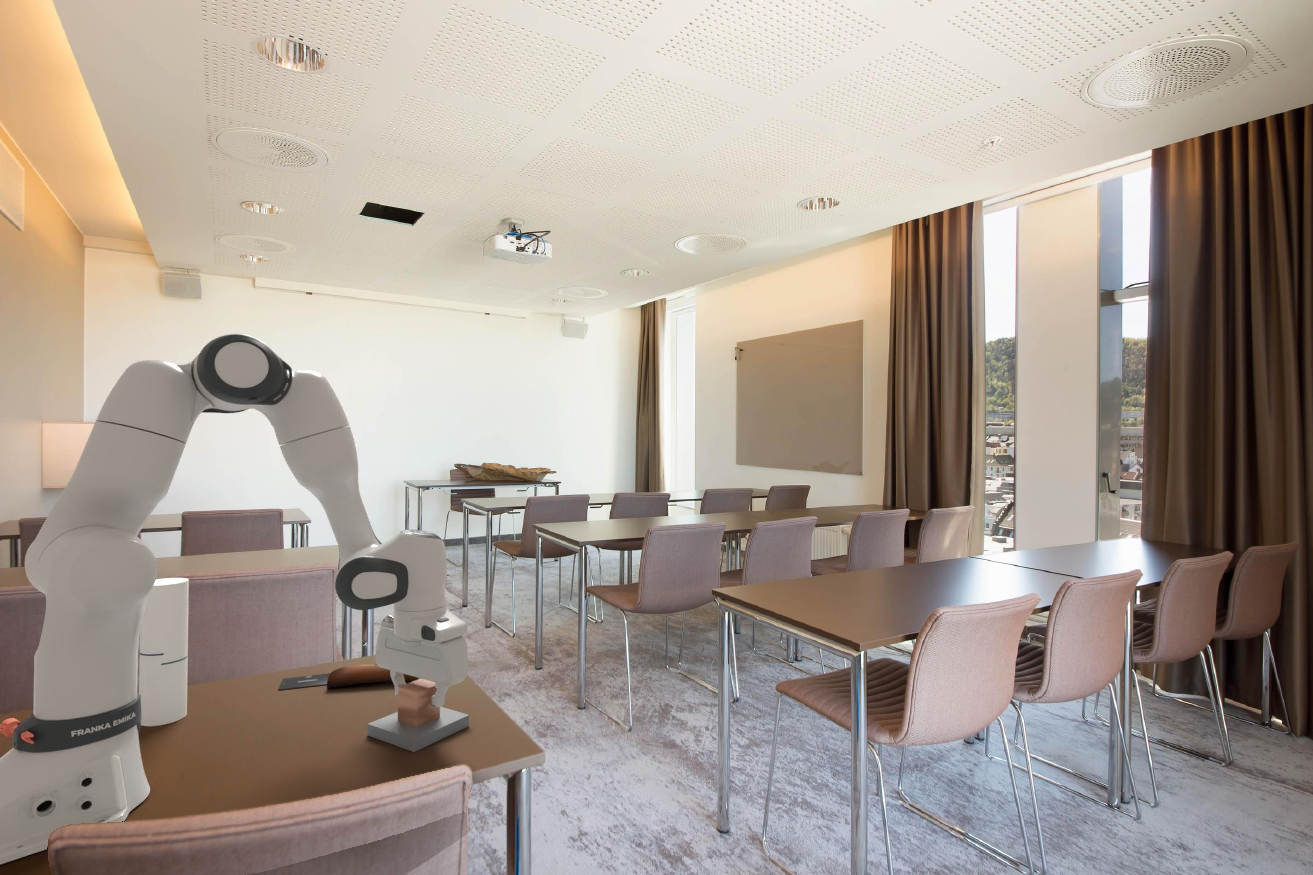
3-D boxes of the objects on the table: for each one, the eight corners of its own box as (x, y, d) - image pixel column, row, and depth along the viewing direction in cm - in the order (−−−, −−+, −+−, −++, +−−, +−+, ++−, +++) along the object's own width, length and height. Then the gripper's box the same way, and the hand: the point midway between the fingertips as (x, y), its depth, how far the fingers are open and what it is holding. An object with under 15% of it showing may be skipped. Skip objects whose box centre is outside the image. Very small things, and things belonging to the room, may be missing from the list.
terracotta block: (417, 727, 115) (417, 692, 115) (397, 721, 118) (398, 686, 118) (439, 717, 120) (440, 683, 120) (420, 711, 122) (421, 678, 122)
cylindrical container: (146, 713, 125) (148, 579, 125) (191, 708, 128) (193, 576, 128) (132, 728, 119) (134, 586, 119) (180, 722, 121) (182, 584, 121)
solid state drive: (282, 681, 144) (282, 678, 144) (334, 675, 147) (334, 672, 147) (278, 692, 137) (278, 689, 137) (332, 686, 141) (332, 683, 141)
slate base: (414, 751, 111) (414, 739, 111) (367, 735, 117) (367, 723, 117) (468, 725, 121) (469, 714, 121) (423, 711, 127) (423, 701, 127)
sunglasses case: (422, 669, 150) (421, 648, 147) (419, 695, 144) (418, 673, 141) (334, 675, 146) (331, 653, 142) (328, 702, 140) (324, 680, 136)
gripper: (367, 617, 122) (366, 693, 121) (446, 634, 111) (445, 718, 111) (396, 610, 127) (395, 683, 127) (474, 626, 116) (473, 705, 116)
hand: (419, 700), depth 119 cm, fingers open, 8 cm apart
